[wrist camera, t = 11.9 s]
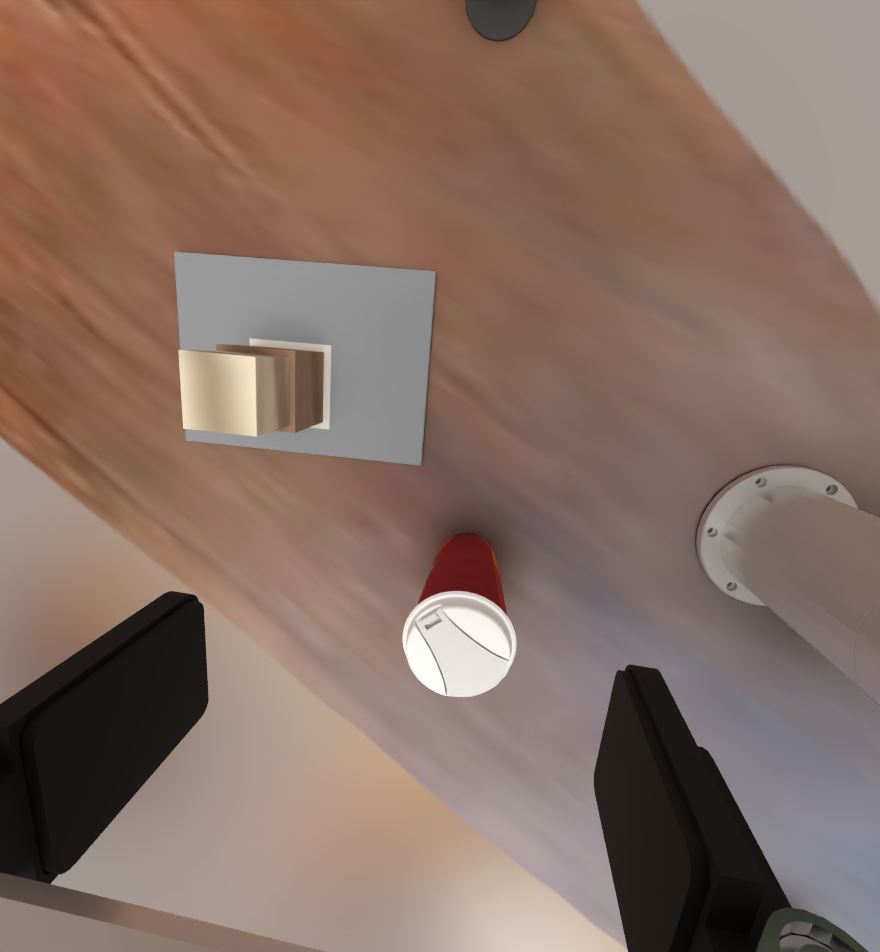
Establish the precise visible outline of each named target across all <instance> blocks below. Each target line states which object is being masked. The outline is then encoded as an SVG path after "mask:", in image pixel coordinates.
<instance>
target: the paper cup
mask: <svg viewBox="0 0 880 952" xmlns="http://www.w3.org/2000/svg"><path fill="white" fill-rule="evenodd" d="M403 647H404V651H405V654H406V656H407V659H408V662H409V665H410V667H411V669H412V671H413V673H414V674H415V675H416V677H417V678H418V679H419V680H420V681H421V682H422V683H423V684H424V685H425V686H427V687H428V688H429V689H431V690H433V691H435V692H437V693H439V694H442V695H445V696H446V695H447V696H454V697H470V696H475V695H478V694H481V693H484V692H486V691H488V690H490V689H492V688H493V687H495V686H496V685H497V684H498V683H499V682H500V681H501V679H502V678H503V677H505V676H506V674H507V672H508V670H509V667H510V666H511V664H512V662H513V659H514V656H515V653H516V635H515V631H514V628H513V626H512V623H511V621H510V620H509V618H508V617H507V612H506V607H505V601H504V596H503V590H502V585H501V580H500V575H499V570H498V565H497V560H496V557H495V554H494V551H493V549H492V548H491V546H490V545H489V544H488V543H487V542H486V541H485V540H484V539H482V538H480V537H478V536H476V535H472V534H460V535H456V536H453V537H451V538H450V539H448V540H447V541H446V542H445V543H444V544H443V545H442V547H441V548H440V550H439V552H438V554H437V556H436V559H435V561H434V564H433V566H432V568H431V571H430V574H429V576H428V579H427V581H426V584H425V586H424V589H423V591H422V594H421V597H420V599H419V602H418V604H417V606H416V607H415V608H414V609H413V610H412V612H411V613H410V615H409V616H408V618H407V621H406V623H405V626H404V630H403Z"/></svg>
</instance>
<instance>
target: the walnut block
mask: <svg viewBox="0 0 880 952" xmlns="http://www.w3.org/2000/svg"><path fill="white" fill-rule="evenodd" d="M216 351H230V352H240V353H251V354H261V355H272V356H282V357H289V426H286V427H284V428H281V429H278V430H275V431H280V432H290V433H296V432H299V431H302V430H304V429H307V428H309V427H312V426H314V425H317V424H319V423H322V422H323V383H324V352H317V351H305V350H294V349H283V348H272V347H261V346H245V345H227V344H216Z"/></svg>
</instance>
